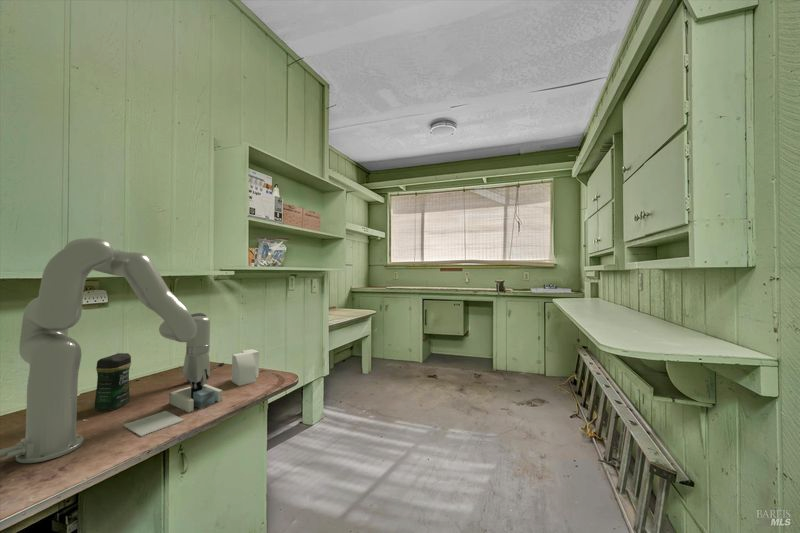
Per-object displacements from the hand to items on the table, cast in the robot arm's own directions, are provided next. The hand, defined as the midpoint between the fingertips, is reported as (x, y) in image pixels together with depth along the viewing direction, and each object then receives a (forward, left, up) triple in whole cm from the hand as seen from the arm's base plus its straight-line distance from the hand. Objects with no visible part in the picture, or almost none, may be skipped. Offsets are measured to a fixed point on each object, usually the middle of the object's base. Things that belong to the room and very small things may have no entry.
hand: (196, 397), depth 121 cm
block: (0, -5, -2) cm, 5 cm away
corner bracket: (+25, +6, -2) cm, 26 cm away
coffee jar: (-18, +20, -2) cm, 27 cm away
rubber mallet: (+10, +22, -2) cm, 24 cm away
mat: (-16, -6, -2) cm, 17 cm away
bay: (0, 0, -2) cm, 2 cm away
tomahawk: (+22, +30, -2) cm, 38 cm away
